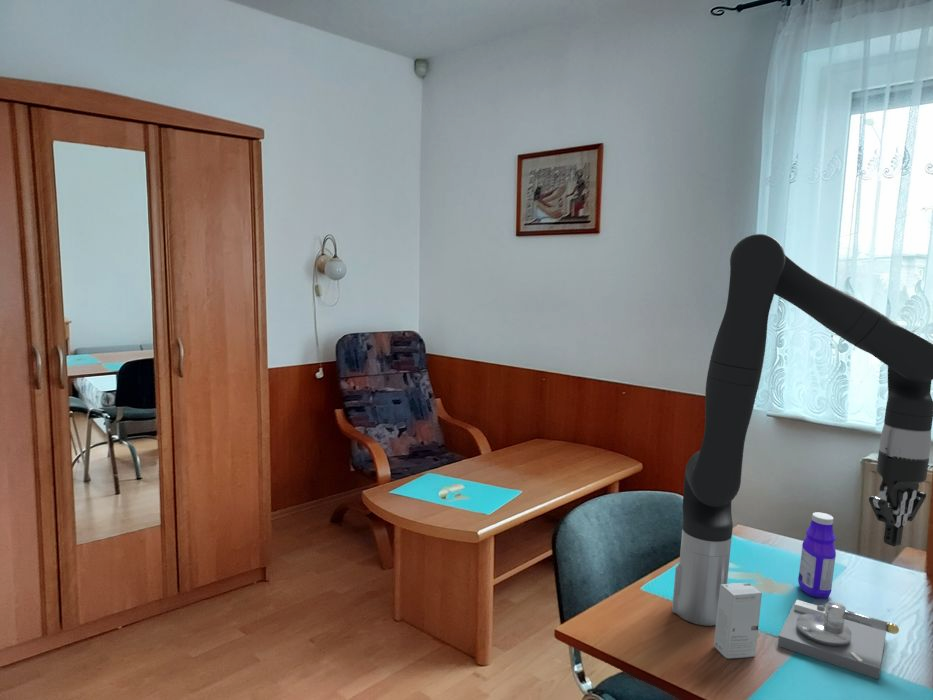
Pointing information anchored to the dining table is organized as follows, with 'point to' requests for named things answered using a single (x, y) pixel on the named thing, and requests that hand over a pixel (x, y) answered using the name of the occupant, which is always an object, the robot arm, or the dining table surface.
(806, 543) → the bottle
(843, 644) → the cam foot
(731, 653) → the skincare box
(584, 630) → the dining table surface
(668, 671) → the dining table surface
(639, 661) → the dining table surface
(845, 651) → the switch base
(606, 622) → the dining table surface
